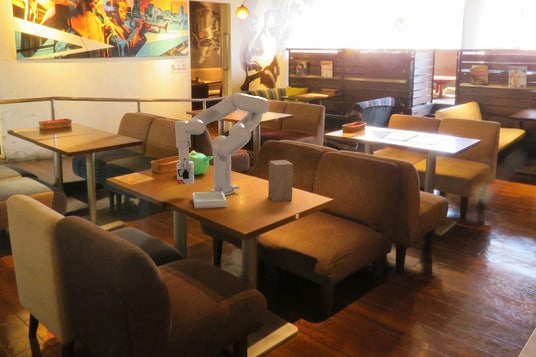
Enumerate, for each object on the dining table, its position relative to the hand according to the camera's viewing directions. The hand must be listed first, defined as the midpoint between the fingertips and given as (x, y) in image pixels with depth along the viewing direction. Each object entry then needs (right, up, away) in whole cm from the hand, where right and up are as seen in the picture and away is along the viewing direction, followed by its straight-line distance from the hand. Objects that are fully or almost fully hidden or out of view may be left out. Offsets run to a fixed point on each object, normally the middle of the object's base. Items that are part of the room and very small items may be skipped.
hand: (185, 177), depth 269 cm
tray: (+14, -13, -9) cm, 21 cm away
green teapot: (-2, +1, +47) cm, 47 cm away
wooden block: (+51, -12, 0) cm, 52 cm away
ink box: (0, -4, +1) cm, 4 cm away
